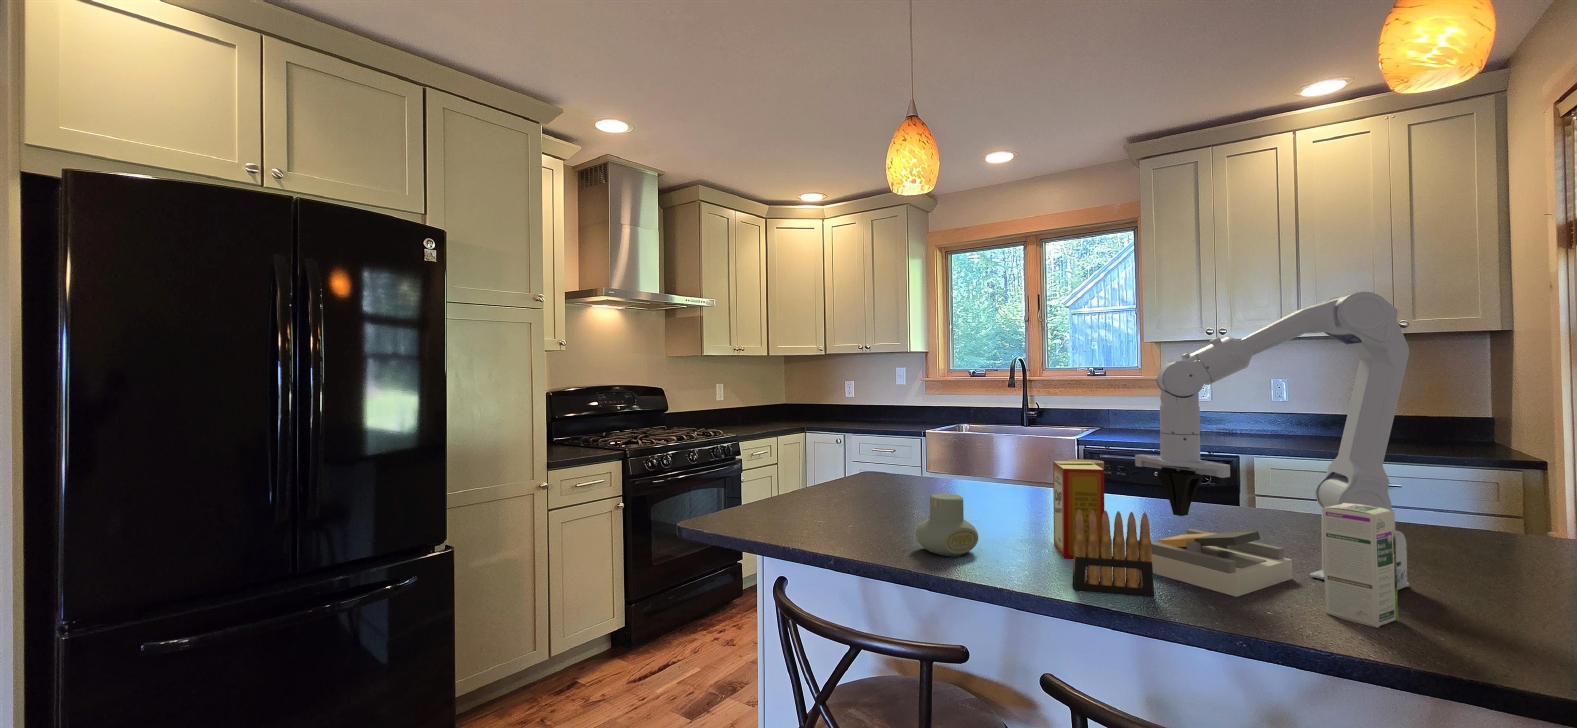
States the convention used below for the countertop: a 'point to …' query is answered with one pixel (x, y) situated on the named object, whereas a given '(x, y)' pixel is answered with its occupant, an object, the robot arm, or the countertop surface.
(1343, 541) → the syrup box
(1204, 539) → the breaker rocker
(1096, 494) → the baking soda box
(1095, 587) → the ammunition clip
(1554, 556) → the countertop surface
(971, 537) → the air freshener
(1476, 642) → the countertop surface
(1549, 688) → the countertop surface
